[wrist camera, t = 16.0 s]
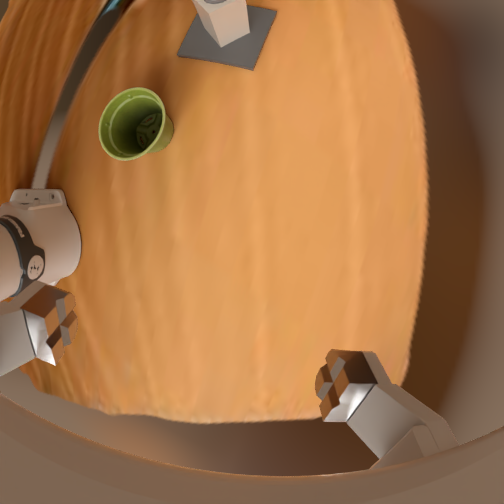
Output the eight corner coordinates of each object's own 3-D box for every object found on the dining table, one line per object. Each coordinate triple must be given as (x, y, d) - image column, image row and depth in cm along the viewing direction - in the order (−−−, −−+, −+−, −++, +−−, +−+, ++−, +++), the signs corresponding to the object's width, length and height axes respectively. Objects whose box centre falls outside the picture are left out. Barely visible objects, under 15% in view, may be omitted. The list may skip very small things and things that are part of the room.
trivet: (178, 56, 34) (176, 54, 33) (205, 2, 31) (204, -1, 30) (253, 70, 34) (252, 68, 34) (276, 13, 31) (276, 11, 31)
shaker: (221, 47, 33) (207, 9, 22) (204, 28, 32) (187, -10, 21) (249, 32, 32) (244, -8, 21) (232, 14, 31) (223, -27, 20)
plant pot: (196, 141, 37) (177, 131, 29) (143, 175, 39) (114, 174, 30) (169, 92, 36) (146, 73, 27) (119, 126, 37) (89, 117, 29)
